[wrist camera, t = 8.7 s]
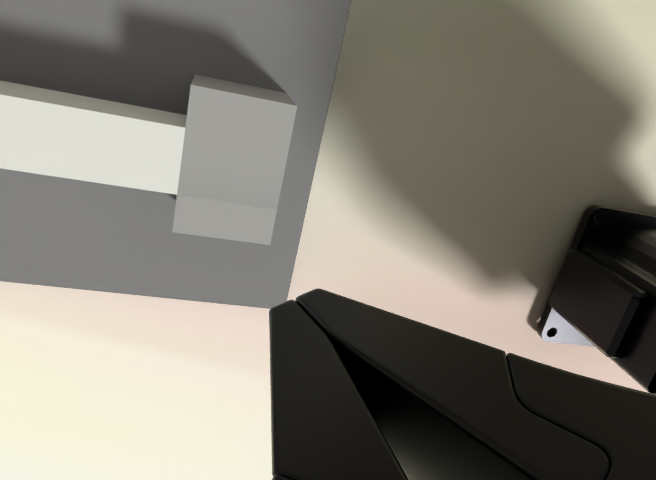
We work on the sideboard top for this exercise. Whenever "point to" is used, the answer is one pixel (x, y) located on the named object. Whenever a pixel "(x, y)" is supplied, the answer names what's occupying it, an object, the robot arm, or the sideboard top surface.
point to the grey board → (162, 142)
